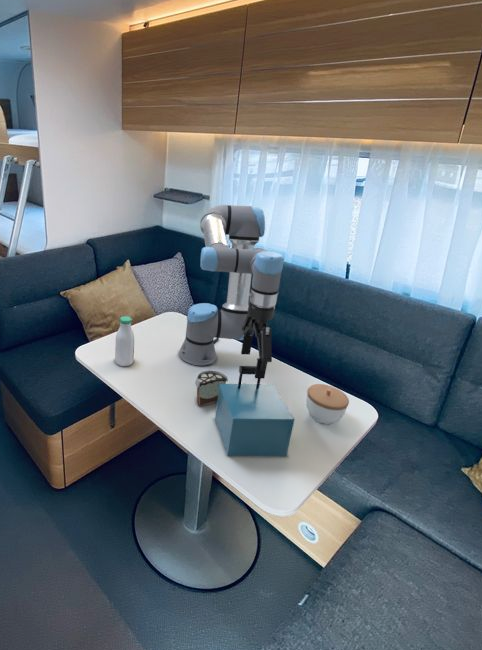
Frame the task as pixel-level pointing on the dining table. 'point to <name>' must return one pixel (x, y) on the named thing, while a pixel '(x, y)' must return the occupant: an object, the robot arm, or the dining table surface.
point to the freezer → (252, 434)
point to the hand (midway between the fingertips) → (252, 365)
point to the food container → (209, 386)
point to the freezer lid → (254, 400)
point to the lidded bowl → (326, 403)
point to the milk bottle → (124, 343)
